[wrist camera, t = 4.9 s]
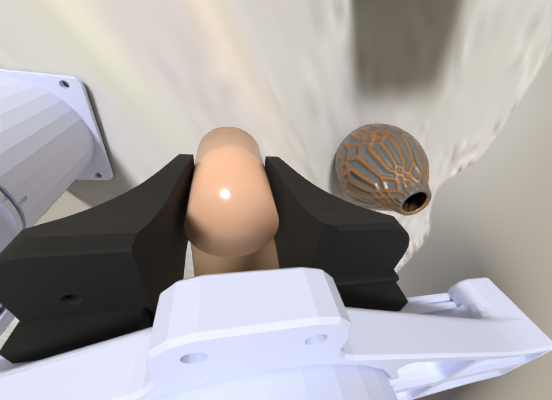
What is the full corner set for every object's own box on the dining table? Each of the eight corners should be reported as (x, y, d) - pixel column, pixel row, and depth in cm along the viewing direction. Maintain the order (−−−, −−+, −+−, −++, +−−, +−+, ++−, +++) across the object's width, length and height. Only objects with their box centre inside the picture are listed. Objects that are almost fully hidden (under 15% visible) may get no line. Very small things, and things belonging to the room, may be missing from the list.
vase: (395, 160, 25) (459, 214, 18) (335, 187, 26) (375, 248, 19) (389, 100, 21) (470, 140, 14) (317, 134, 21) (361, 189, 15)
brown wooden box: (197, 267, 30) (193, 305, 26) (188, 182, 22) (181, 218, 18) (280, 262, 32) (288, 295, 28) (298, 184, 25) (313, 216, 21)
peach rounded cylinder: (199, 183, 13) (189, 260, 9) (193, 125, 11) (177, 189, 7) (258, 182, 14) (273, 254, 10) (262, 128, 12) (284, 188, 8)
